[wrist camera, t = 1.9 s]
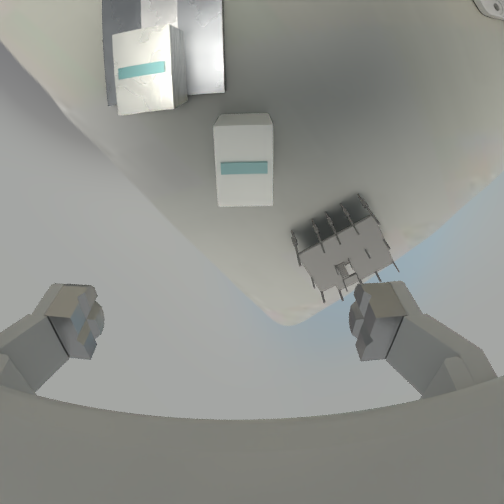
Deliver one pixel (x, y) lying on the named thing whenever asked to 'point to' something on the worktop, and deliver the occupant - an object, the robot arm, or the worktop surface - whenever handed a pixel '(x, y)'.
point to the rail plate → (196, 41)
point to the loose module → (244, 159)
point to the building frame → (346, 253)
